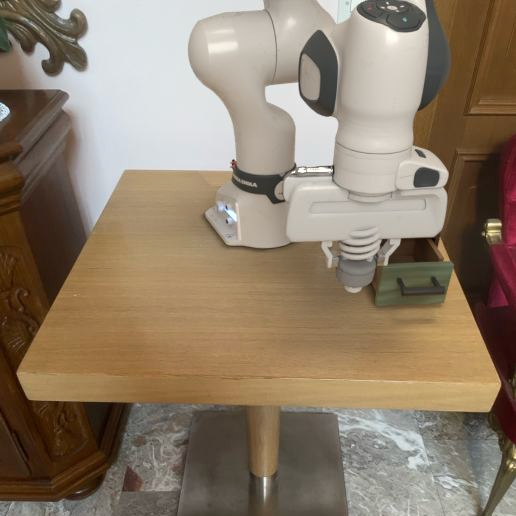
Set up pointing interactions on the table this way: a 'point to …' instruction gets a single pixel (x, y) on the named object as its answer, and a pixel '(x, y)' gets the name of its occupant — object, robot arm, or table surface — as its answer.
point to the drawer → (412, 274)
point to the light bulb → (358, 260)
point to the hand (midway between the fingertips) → (356, 264)
